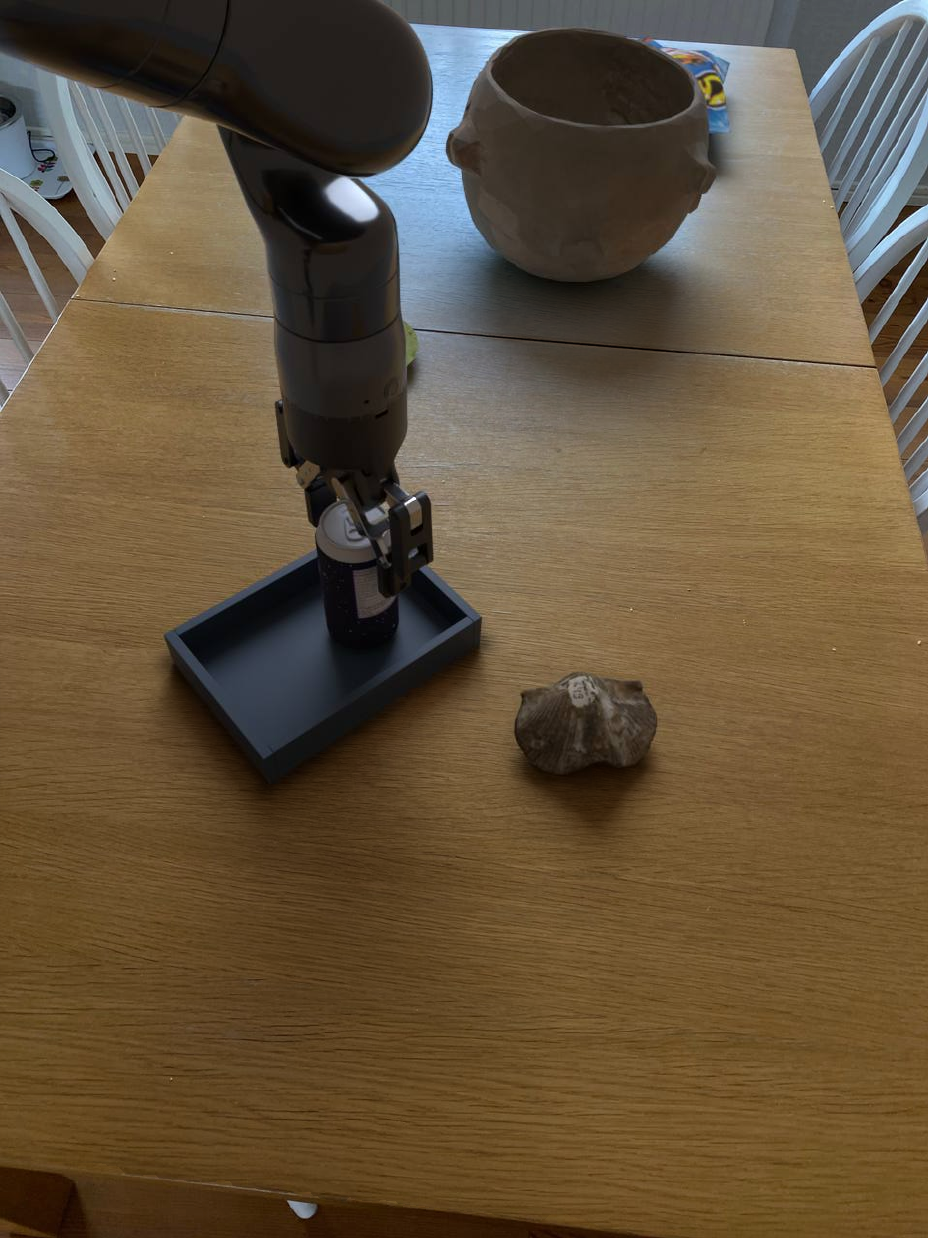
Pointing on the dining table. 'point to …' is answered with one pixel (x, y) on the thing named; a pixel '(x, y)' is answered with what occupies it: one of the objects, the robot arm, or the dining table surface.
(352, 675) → the dark blue tray
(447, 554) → the dining table surface
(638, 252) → the bowl
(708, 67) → the packet
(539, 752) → the fossilized seashell
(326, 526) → the beverage can
